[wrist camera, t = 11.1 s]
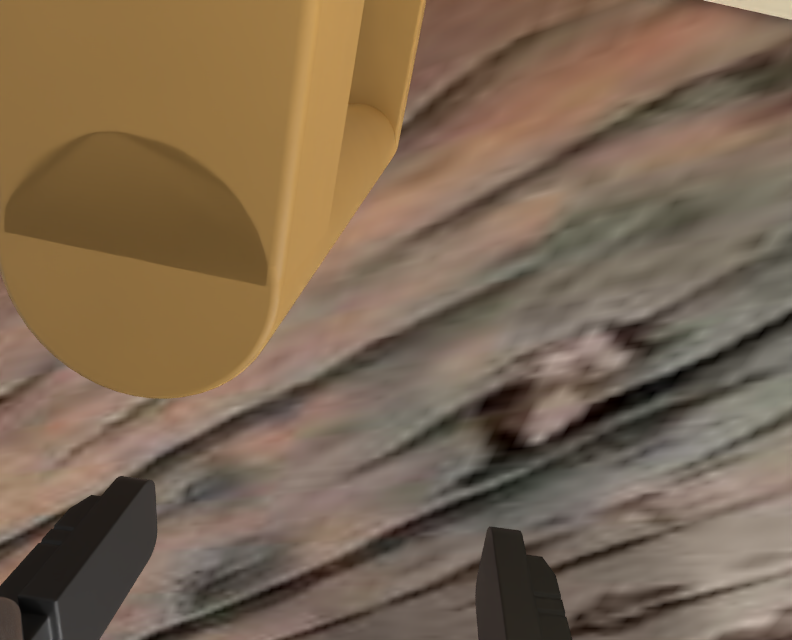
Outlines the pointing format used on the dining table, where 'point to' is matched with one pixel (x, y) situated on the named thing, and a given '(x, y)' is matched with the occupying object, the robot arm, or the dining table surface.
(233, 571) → the dining table surface
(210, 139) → the cupboard door
